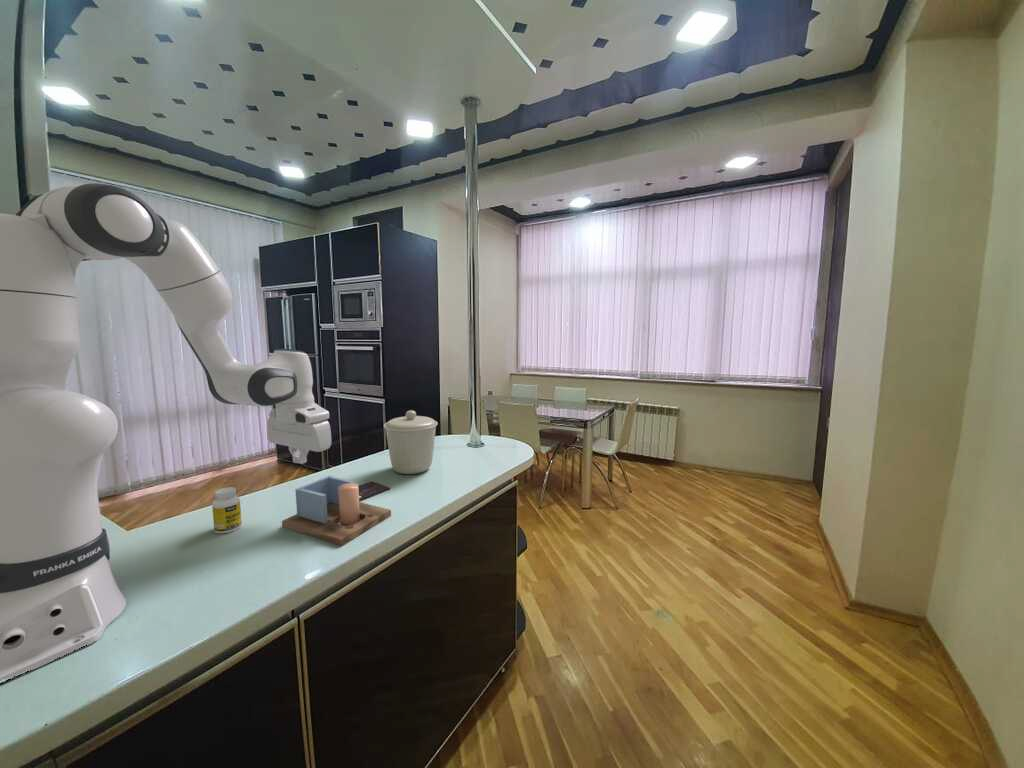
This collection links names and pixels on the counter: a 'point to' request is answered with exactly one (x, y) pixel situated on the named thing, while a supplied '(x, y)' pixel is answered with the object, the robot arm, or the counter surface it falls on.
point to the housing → (318, 498)
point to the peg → (349, 504)
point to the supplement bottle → (226, 510)
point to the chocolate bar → (371, 490)
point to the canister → (411, 442)
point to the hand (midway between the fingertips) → (300, 462)
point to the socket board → (333, 529)
